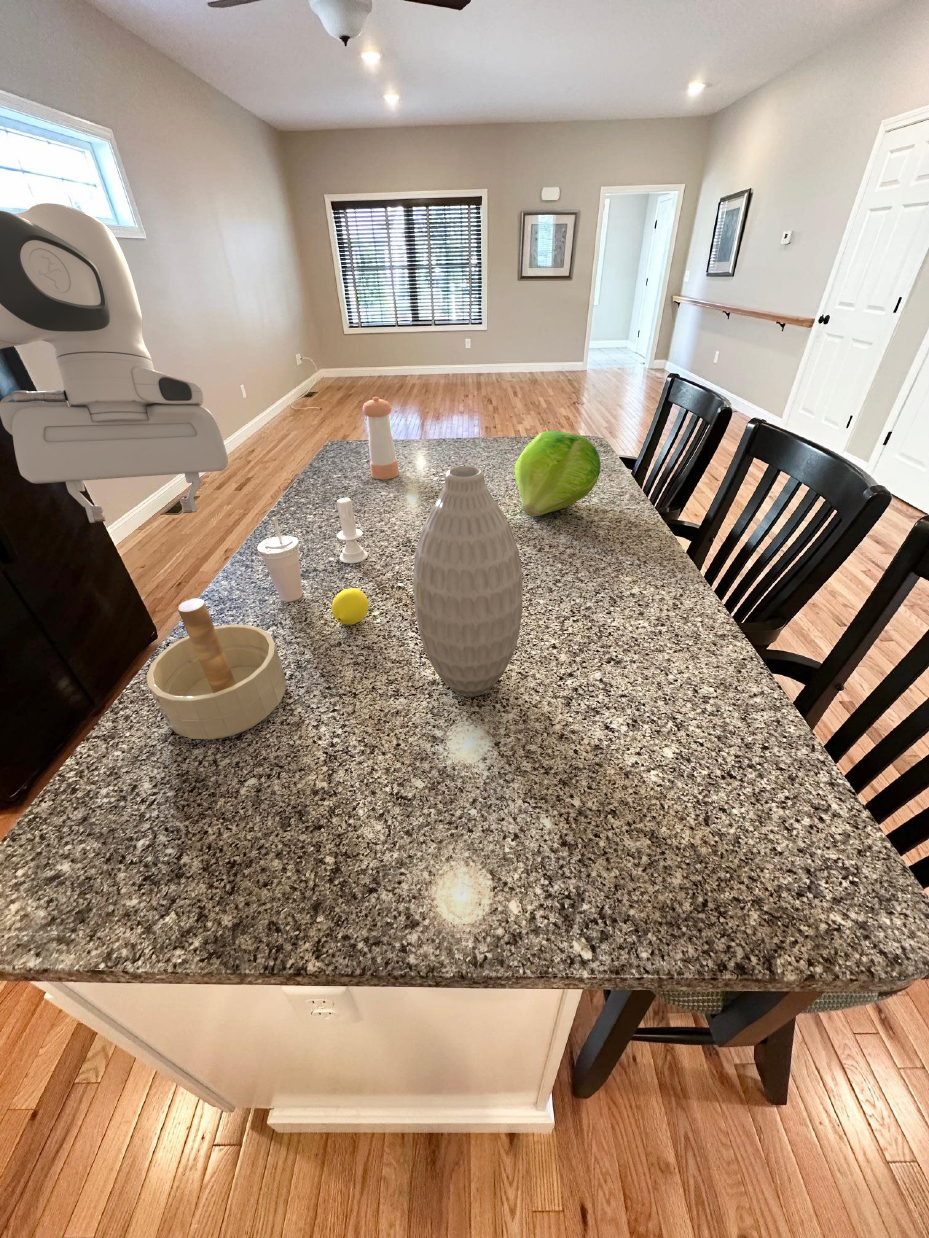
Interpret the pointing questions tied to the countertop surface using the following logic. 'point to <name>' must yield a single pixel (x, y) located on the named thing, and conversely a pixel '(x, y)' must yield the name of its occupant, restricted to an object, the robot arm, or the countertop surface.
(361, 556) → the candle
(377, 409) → the pepper shaker
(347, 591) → the lemon
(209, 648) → the stick
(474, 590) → the vase
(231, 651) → the bowl
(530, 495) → the lettuce
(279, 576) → the smoothie
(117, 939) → the countertop surface
